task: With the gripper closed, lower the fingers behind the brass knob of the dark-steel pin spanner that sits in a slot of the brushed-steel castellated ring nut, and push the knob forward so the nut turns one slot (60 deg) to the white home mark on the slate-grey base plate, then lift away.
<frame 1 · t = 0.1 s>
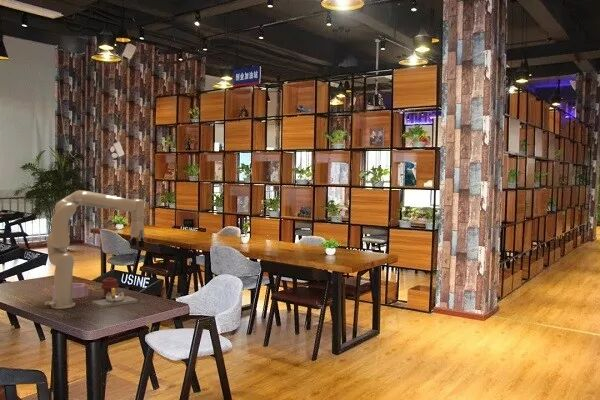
hand: (137, 246, 334), 31 cm above the table, fingers open, 9 cm apart
base plate: (115, 302, 315), on the table
mechanical component: (109, 298, 327), on the table
clip: (69, 297, 329), on the table
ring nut: (116, 293, 313), point 6 cm above the table, hinge at 0.0°
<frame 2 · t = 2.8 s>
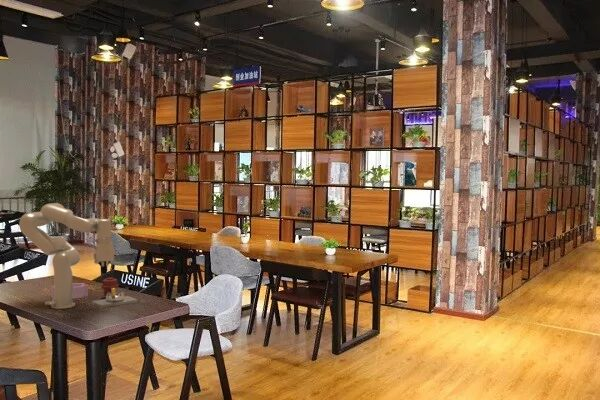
hand: (104, 273, 301), 20 cm above the table, fingers closed
nothing on the table moved.
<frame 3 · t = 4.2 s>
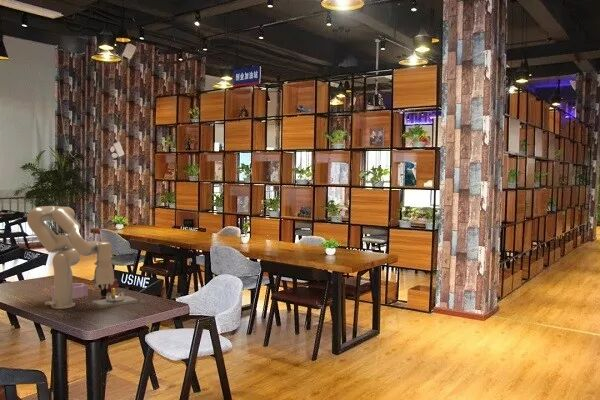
hand: (103, 295, 301), 7 cm above the table, fingers closed
nothing on the table moved.
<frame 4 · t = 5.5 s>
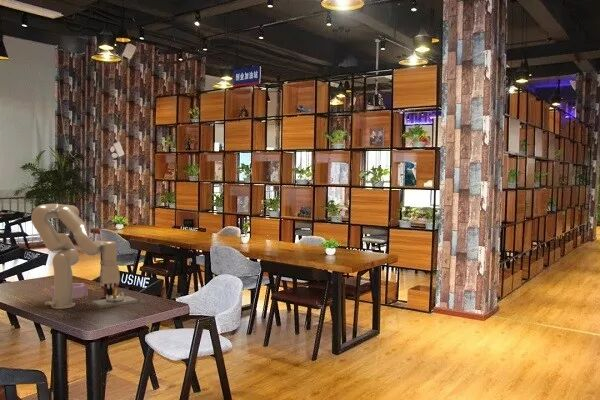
hand: (109, 295, 303), 7 cm above the table, fingers closed
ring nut: (116, 293, 313), point 6 cm above the table, hinge at 5.1°, touching gripper
everything else where it was.
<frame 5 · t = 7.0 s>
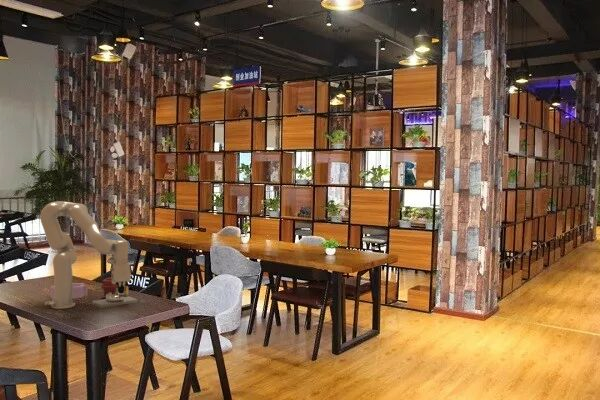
hand: (121, 293, 308), 7 cm above the table, fingers closed
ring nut: (118, 292, 314), point 6 cm above the table, hinge at 49.4°, touching gripper
everything else where it was.
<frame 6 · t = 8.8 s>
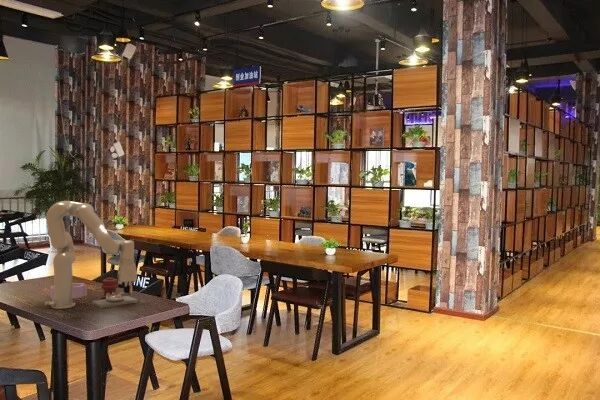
hand: (126, 292, 311), 7 cm above the table, fingers closed
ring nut: (118, 292, 315), point 6 cm above the table, hinge at 74.8°, touching gripper
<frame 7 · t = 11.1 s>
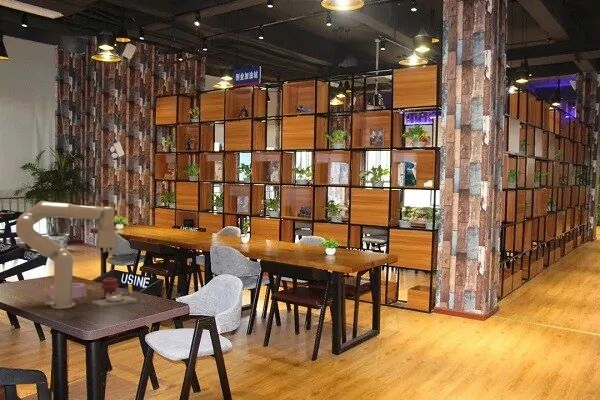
hand: (105, 258, 313), 26 cm above the table, fingers closed
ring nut: (118, 292, 315), point 6 cm above the table, hinge at 74.9°
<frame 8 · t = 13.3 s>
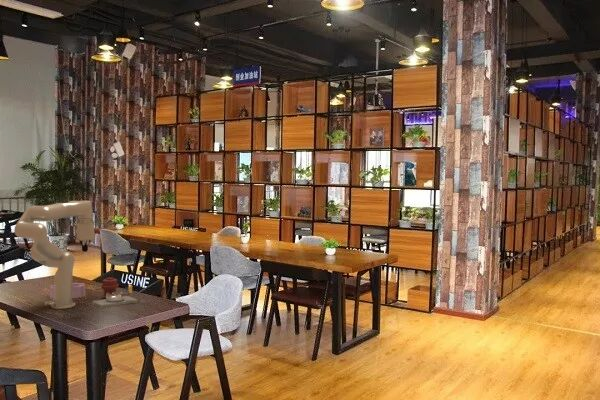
hand: (84, 251, 321), 29 cm above the table, fingers closed
at the end: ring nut at +75° (first picture: +0°); mechanical component moved 0.2 cm from its start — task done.
